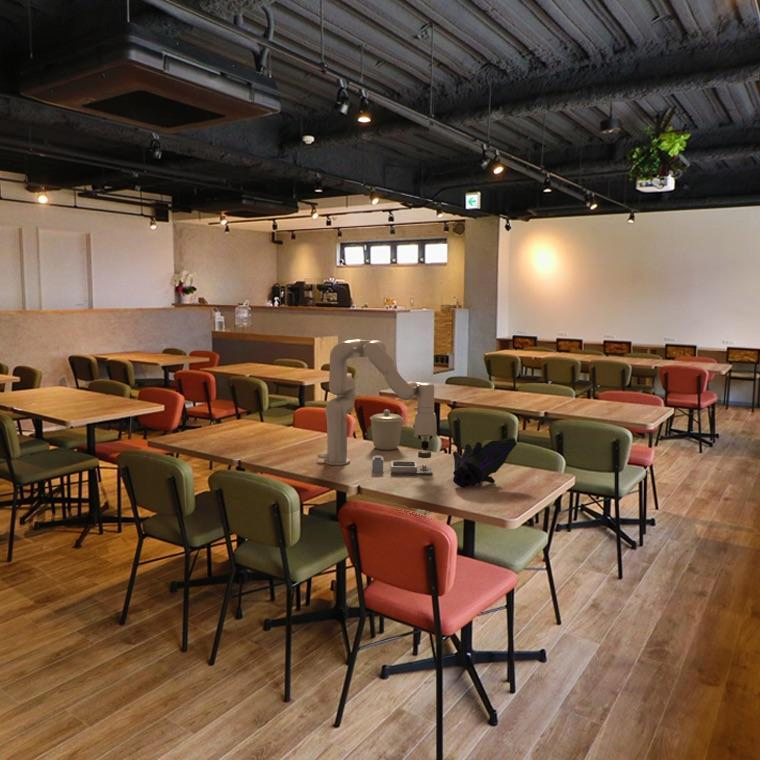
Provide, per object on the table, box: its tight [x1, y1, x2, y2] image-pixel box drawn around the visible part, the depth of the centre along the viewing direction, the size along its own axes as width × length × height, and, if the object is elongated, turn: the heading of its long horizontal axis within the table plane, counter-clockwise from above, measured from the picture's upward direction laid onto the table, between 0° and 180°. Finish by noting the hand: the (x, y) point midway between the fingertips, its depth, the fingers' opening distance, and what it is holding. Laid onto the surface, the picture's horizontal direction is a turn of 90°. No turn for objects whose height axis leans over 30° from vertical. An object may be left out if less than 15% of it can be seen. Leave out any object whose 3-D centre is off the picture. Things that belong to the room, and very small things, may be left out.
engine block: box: [371, 455, 384, 474], centre depth 292 cm, size 5×6×7 cm
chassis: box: [390, 460, 434, 477], centre depth 291 cm, size 19×12×4 cm, turn 90°
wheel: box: [417, 450, 432, 459], centre depth 291 cm, size 6×6×2 cm
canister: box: [369, 409, 405, 451], centre depth 336 cm, size 18×18×21 cm
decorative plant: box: [452, 437, 518, 488], centre depth 275 cm, size 21×26×30 cm
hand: (424, 449), depth 290 cm, fingers closed
